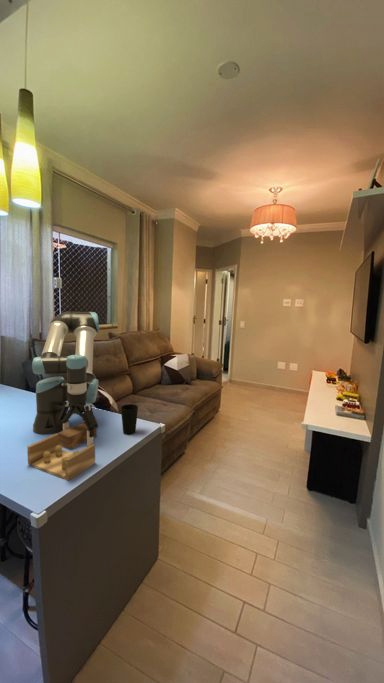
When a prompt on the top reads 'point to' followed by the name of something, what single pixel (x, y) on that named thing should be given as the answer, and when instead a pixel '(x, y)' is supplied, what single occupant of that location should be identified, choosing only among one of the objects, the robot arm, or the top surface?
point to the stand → (59, 458)
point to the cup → (129, 418)
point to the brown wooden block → (74, 436)
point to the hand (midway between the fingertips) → (78, 440)
